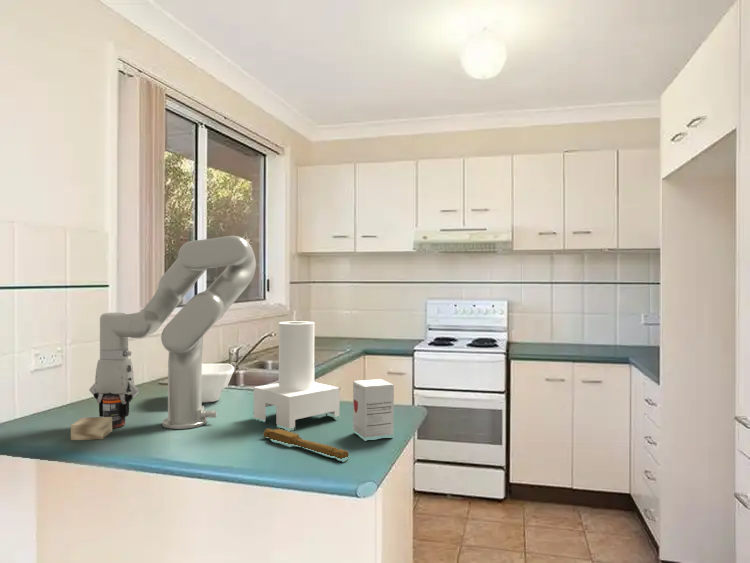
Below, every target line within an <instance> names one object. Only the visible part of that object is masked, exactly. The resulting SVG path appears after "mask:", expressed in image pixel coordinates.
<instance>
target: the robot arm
mask: <svg viewBox="0 0 750 563" xmlns="http://www.w3.org/2000/svg"><path fill="white" fill-rule="evenodd" d="M220 267H222V268H223V267H225V269H223V271H222V272H221V273H220V274H219V275H218V276H217V278H216V279H215V280H214V281H213V282H212V283H211V284H210V285H209V286H208V287H207V288H206V289H205V290H204V291H201V292H199V293H197V294H195V295H194V296H192V298H190V299H189V300H188V301H187V303H186V304H184V306H183V307H182V308H181V309H180V310H179V311H178V312H177V313H176V314H175V315H174V316H173V317H172V319H171V320H170V321H169V322H168V323H167V324H166V325H165V326H164V328H162V332H161V336H160V340H161V343H162V346H163V348H164V349H165V350H166V351H168V360H167V418H165V419H163V420H162V423H161V424H162V427H164V428H167V429H170V430H171V429H172V430H173V429H174V430H184V429H185V430H186V429H192V428H198V427H201V426H204V425H205V424H207V422H208V418H211V419H212V418H217V416H218V415H217V414H218V413H217V410H214V409H209V410H208V409H205V406H204V405H202V404H203V402H202V364H203V348H204V336H205V334H206V333H207V332H208V331H209V330H210V329H211V328H212V327H213V326H214V325H215V324H216V323H217V322H218V321H220V320H221V319H222V317H223V316H224V315H225V313H226V312H227V311H228V309H230V307H231V306H232V305H233V304H234V303H235V302H236V300H238V298H239V297H240V296H241V295H242V293H243V292H244V291H245V290H246V289H247V288H248V286H249V285H250V284H251V282H252V280H253V278H254V276H255V272H256V267H257V260H256V255H255V252H254V249H253V246H252V245H251V244H250V243H249V241H248V240H246V239H245V238H243V237H241V236H238V235H227V236H219V237H212V238H207V239H206V238H204V239H197V240H191V241H187V242H185V243H184V244H182V246H181V247H180V248H179V250H178V254H177V258H176V260H174V262H173V263H172V265H170V266H169V268H168V269H167V270H166V271H165V273H164V274H163V275H162V276H161V277H160V279H159V281H158V285H157V289H156V290H155V293H154V295H153V296H152V298H151V299H150V300H149V301H148V302H147V304H145V306H144V308H143V309H142V310H141V311H138V312H134V313H127V314H126V313H125V312H105V313H102V314H101V315H100V316H99V359H98V360H97V363H96V369H95V379H94V384H92V386H91V387H90V388H89V389H88V390H89V392H90V394H91V395H93V397H94V398H95V399H96V402H97V404H98V413H99V416H98V417H103V397H104V396H105V395H106V394H108V393H111V394H119V396H120V399H121V402H122V404H120V417H121V418H124V417H125V418H126V417H129V414H130V402H132V401H133V399H134V398H135V397H136V396H137V395H138V394H139V392H140V390H139V388H138V387H137V386H136V385H135V374H134V367H133V362H132V359H131V358H129V357H131V356H132V351H129V338H130V339H143V338H146V337H148V336H150V335H153V334H154V333H156V332H157V331H158V330H159V329H160V328H161V327H162V325H164V323H165V322H166V321H167V320H168V318H170V316H171V315H172V313H173V312H175V311H174V310H176V308H177V307H178V305H179V304H180V303H181V301H183V299H184V298H185V296H186V295H187V293H188V292H189V291H190V290H191V288H192V287H193V286H194V285H195V284H196V283H197V281H198V280H199V279H200V278H201V277H202V276H203V275H204V273H205V272H206V271H207V269H216V268H220Z"/></svg>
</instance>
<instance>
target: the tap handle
mask: <svg viewBox="0 0 750 563" xmlns="http://www.w3.org/2000/svg"><path fill="white" fill-rule="evenodd" d="M265 437H269V438H270V439H273V440H277V441H281V442H284V443H288V444H294V445H298V446H301V447H304V448H308V449H311V450H314V451H317V452H321V453H324V454H327V455H330V456H335V457H337V458H340V459H342V458H345V457H348V456H349V455H350V454H349V452H348V450H346V449H343V448H340V449H338V447H334V446H331V445H326V444H322V443H319V442H314V441H310V440H306V439H302V437H300V435H299V434H298V433H295V432H293V431H291V432H289V431H286V430H283V429H280V428H276V429H271V428H265V430H263V438H265ZM270 439H269V440H270ZM348 458H349V457H348Z"/></svg>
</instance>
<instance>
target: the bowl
mask: <svg viewBox="0 0 750 563" xmlns="http://www.w3.org/2000/svg"><path fill="white" fill-rule="evenodd" d="M234 372H235V368H234V366H233V365H232V364H231V363H202V403H209V402H210V403H211V402H217V401H218V400H219V399H220V398H221V395H222V393H223V391H224V389H225V388H226V387H228V385H229V383H230V380H231V379H232V376H233V374H234Z"/></svg>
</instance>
